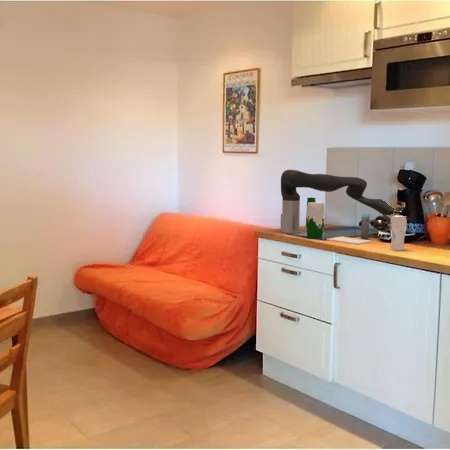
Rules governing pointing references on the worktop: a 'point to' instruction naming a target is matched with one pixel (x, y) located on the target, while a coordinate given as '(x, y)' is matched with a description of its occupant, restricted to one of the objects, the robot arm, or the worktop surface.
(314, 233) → the milk carton
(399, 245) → the beer glass
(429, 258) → the worktop surface
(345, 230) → the worktop surface
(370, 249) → the worktop surface
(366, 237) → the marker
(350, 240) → the pad
